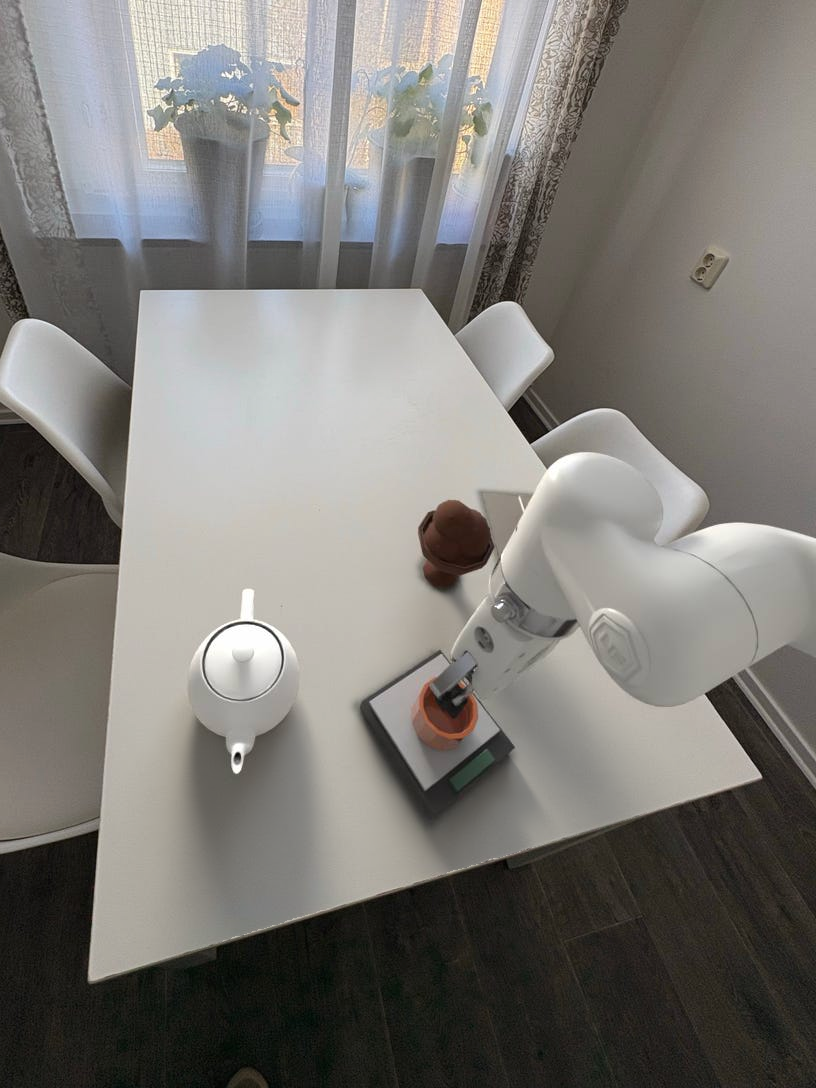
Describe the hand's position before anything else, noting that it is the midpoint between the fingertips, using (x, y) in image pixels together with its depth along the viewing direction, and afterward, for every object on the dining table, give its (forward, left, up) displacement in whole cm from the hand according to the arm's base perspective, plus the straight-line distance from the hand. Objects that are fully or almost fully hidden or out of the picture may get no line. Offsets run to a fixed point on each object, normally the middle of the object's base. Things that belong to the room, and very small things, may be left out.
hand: (479, 677), depth 54 cm
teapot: (+17, +18, -18) cm, 31 cm away
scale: (+1, 0, -18) cm, 18 cm away
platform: (+16, -34, -18) cm, 41 cm away
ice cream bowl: (+18, -16, -18) cm, 30 cm away
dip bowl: (+1, 0, -15) cm, 15 cm away
